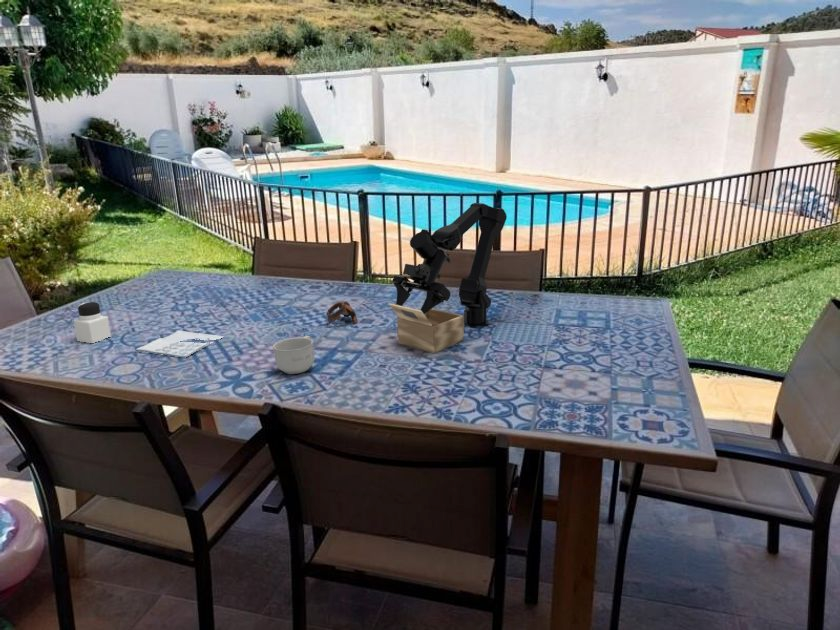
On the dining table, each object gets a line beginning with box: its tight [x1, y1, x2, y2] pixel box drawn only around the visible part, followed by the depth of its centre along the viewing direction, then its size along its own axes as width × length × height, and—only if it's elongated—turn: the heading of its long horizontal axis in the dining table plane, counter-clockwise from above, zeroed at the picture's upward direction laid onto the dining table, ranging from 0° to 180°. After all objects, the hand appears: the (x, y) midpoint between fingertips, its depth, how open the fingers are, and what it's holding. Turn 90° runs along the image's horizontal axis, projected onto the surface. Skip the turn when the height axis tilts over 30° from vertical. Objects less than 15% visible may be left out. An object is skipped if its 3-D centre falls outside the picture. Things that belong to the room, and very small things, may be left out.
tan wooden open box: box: [396, 307, 465, 354], centre depth 192 cm, size 14×15×8 cm
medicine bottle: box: [73, 301, 112, 344], centre depth 200 cm, size 7×7×12 cm
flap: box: [388, 302, 432, 326], centre depth 184 cm, size 7×12×1 cm
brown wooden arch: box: [325, 301, 359, 325], centre depth 214 cm, size 12×10×8 cm
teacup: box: [272, 335, 315, 375], centre depth 174 cm, size 14×11×8 cm
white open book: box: [136, 329, 225, 359], centre depth 195 cm, size 19×20×2 cm
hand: (408, 312), depth 183 cm, fingers open, 9 cm apart
